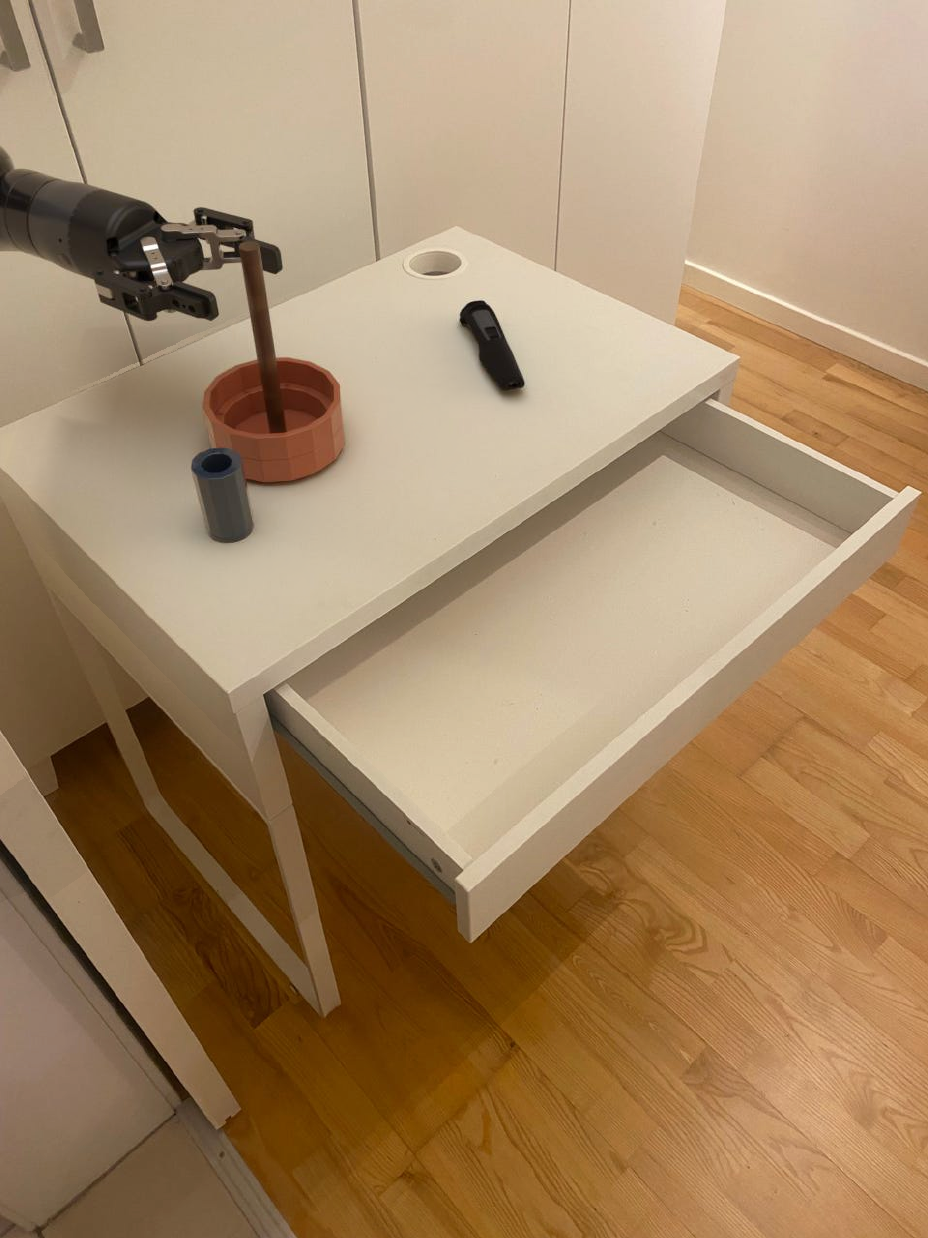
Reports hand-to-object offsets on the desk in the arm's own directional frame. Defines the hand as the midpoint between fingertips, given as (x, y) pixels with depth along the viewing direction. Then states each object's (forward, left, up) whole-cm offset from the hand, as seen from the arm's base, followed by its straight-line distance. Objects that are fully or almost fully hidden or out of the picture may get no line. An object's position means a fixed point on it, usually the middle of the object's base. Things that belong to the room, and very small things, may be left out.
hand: (248, 283), depth 78 cm
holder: (-3, -11, -16) cm, 20 cm away
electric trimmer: (+23, +13, -16) cm, 31 cm away
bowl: (+1, 0, -16) cm, 16 cm away
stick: (+1, 0, -15) cm, 16 cm away
